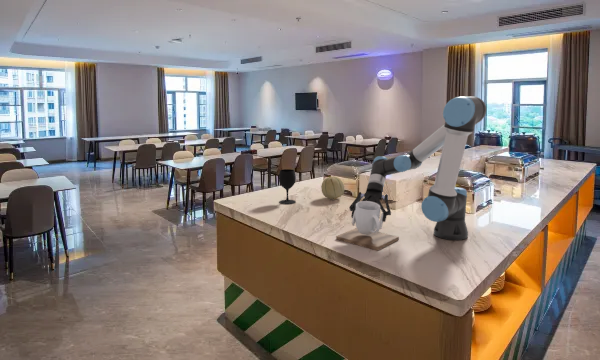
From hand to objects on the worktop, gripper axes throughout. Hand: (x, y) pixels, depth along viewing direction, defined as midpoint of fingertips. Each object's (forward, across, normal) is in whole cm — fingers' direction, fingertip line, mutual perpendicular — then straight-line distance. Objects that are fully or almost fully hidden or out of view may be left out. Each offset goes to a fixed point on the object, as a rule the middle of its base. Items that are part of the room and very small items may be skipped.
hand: (366, 225), depth 190 cm
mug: (+1, 0, -5) cm, 5 cm away
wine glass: (-30, +63, -41) cm, 81 cm away
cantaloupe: (-44, +40, -54) cm, 81 cm away
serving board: (+3, 0, -7) cm, 8 cm away
